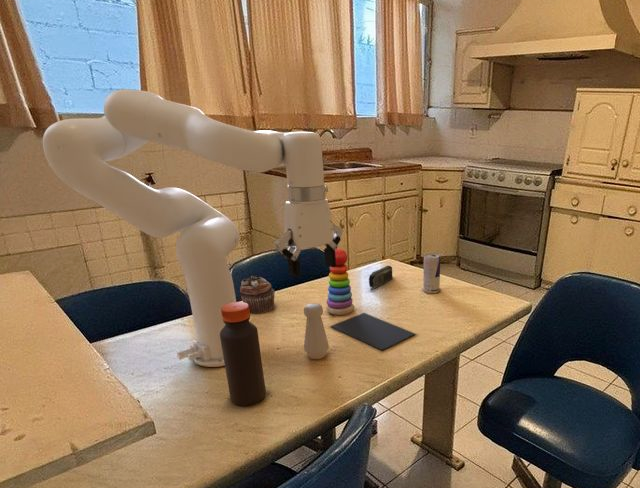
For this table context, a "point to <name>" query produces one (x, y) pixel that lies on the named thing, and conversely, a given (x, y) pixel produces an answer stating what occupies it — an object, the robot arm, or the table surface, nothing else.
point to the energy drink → (431, 273)
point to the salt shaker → (315, 332)
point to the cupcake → (257, 294)
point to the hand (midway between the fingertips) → (313, 271)
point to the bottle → (242, 355)
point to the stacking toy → (339, 286)
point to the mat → (373, 331)
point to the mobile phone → (380, 277)
